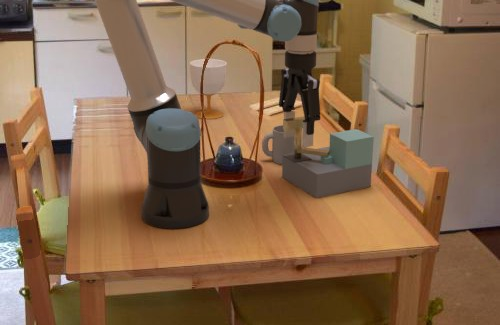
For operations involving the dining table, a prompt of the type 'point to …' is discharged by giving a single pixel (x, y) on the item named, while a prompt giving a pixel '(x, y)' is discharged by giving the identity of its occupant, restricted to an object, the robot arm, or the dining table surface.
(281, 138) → the cup
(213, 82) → the cup
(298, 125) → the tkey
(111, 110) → the dining table surface
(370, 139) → the cover
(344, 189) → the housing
